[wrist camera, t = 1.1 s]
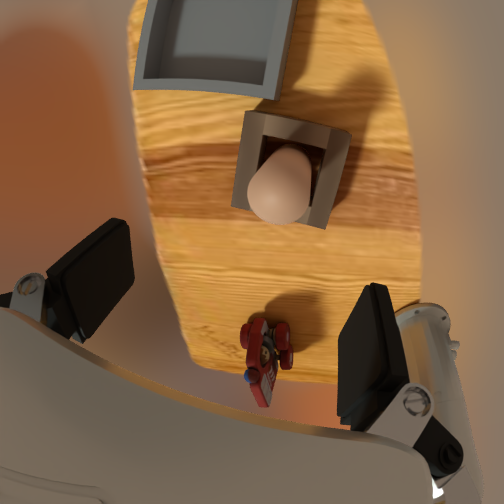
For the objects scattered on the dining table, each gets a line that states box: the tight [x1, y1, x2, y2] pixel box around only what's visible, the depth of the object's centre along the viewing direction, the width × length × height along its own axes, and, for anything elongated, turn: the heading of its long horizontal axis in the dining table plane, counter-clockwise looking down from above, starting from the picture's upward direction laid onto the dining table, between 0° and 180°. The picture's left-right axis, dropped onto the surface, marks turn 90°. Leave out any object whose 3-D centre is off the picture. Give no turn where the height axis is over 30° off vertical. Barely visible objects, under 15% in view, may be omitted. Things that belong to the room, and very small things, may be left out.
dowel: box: [247, 144, 312, 225], centre depth 23 cm, size 4×4×11 cm
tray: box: [133, 0, 298, 101], centre depth 20 cm, size 15×15×4 cm
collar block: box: [231, 110, 352, 229], centre depth 26 cm, size 10×10×4 cm
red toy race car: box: [240, 318, 293, 407], centre depth 38 cm, size 7×12×10 cm, turn 12°
